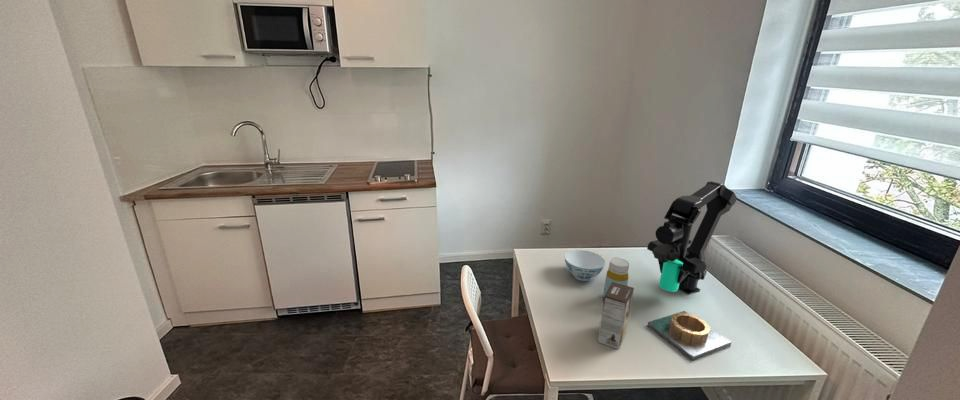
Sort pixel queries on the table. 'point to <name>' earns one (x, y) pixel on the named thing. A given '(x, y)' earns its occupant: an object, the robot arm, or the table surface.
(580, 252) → the chinaware
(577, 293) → the table surface
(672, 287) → the candle
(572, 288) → the table surface
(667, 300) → the table surface
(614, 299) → the coffee box
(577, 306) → the table surface
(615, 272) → the bottle
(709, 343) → the square plate with hole
